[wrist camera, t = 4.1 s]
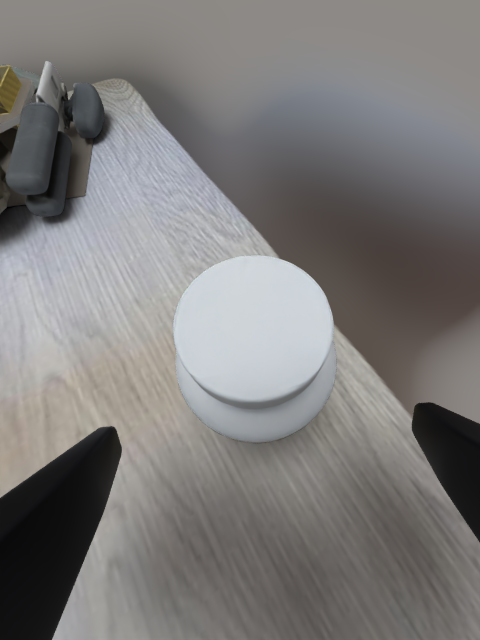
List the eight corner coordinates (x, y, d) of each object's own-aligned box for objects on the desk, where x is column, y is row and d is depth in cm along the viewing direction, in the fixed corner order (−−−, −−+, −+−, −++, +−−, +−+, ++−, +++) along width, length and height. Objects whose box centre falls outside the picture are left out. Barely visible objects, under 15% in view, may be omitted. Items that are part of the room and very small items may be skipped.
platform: (98, 102, 36) (68, 33, 30) (85, 195, 28) (39, 127, 22) (8, 115, 35) (-41, 48, 29) (-31, 212, 28) (-109, 148, 22)
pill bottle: (281, 334, 20) (305, 208, 9) (322, 420, 17) (422, 381, 7) (197, 365, 19) (124, 268, 9) (227, 460, 16) (170, 485, 6)
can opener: (28, 55, 29) (90, 54, 30) (55, 108, 33) (108, 106, 34) (-7, 176, 21) (78, 171, 22) (35, 224, 26) (103, 218, 27)
